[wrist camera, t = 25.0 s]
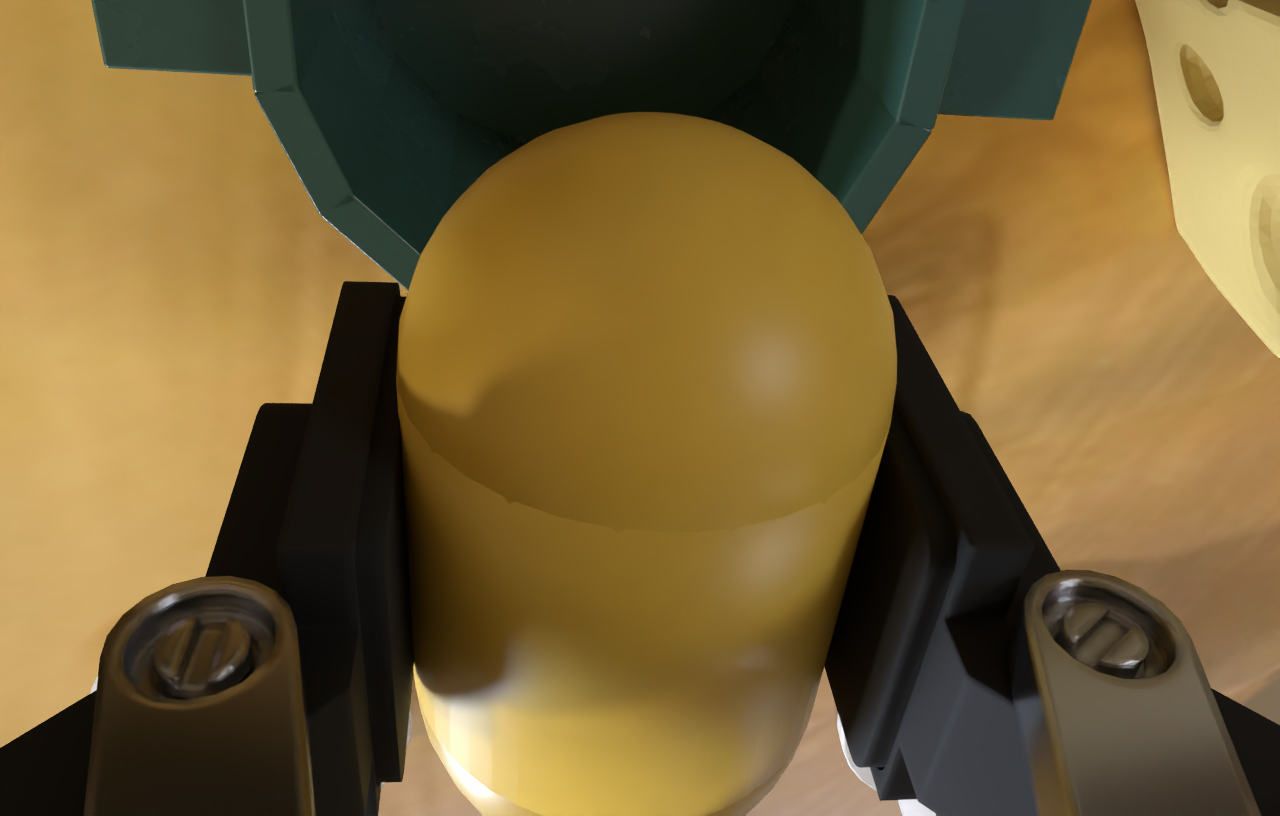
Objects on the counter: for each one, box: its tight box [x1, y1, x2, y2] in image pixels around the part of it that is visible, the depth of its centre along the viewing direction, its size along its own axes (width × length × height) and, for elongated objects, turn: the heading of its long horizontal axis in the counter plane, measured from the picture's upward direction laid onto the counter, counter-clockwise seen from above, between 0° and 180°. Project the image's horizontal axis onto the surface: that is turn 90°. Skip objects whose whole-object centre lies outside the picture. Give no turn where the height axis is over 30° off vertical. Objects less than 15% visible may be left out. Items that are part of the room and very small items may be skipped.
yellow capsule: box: [396, 112, 897, 816], centre depth 10 cm, size 8×4×4 cm, turn 175°
